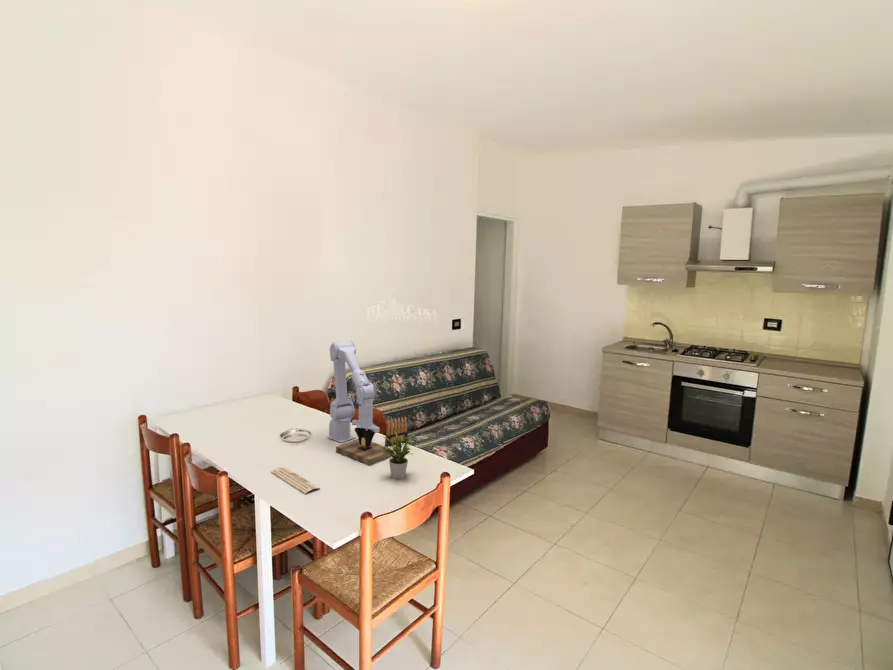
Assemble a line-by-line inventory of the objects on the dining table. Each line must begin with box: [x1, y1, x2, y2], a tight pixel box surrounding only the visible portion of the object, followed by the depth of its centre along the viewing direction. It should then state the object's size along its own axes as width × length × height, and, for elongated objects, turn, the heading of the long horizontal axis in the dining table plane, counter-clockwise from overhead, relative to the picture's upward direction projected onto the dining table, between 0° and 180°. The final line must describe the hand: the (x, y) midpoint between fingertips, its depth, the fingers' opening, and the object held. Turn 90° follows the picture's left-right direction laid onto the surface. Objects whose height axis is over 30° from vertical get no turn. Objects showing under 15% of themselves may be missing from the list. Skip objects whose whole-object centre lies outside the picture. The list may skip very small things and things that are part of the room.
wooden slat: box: [270, 466, 321, 495], centre depth 178 cm, size 24×7×2 cm, turn 47°
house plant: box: [379, 433, 416, 480], centre depth 185 cm, size 14×14×16 cm
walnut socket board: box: [335, 438, 395, 466], centre depth 204 cm, size 20×14×2 cm
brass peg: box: [361, 436, 368, 451], centre depth 203 cm, size 3×3×6 cm
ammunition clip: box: [384, 416, 409, 448], centre depth 215 cm, size 11×2×12 cm, turn 127°
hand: (365, 445), depth 203 cm, fingers closed on brass peg, 3 cm apart
